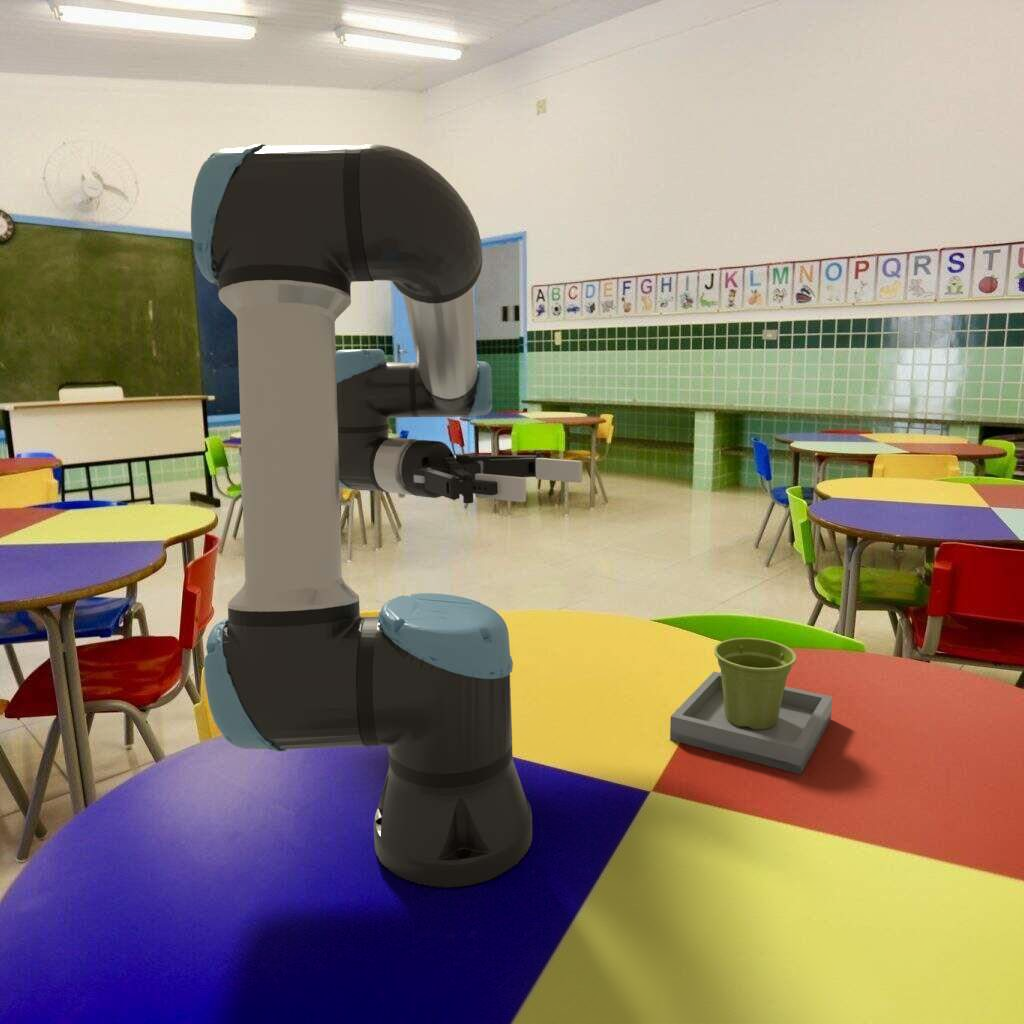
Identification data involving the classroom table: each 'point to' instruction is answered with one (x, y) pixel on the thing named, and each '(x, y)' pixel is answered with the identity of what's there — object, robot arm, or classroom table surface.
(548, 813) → the classroom table surface
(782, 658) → the plant pot
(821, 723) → the tray
